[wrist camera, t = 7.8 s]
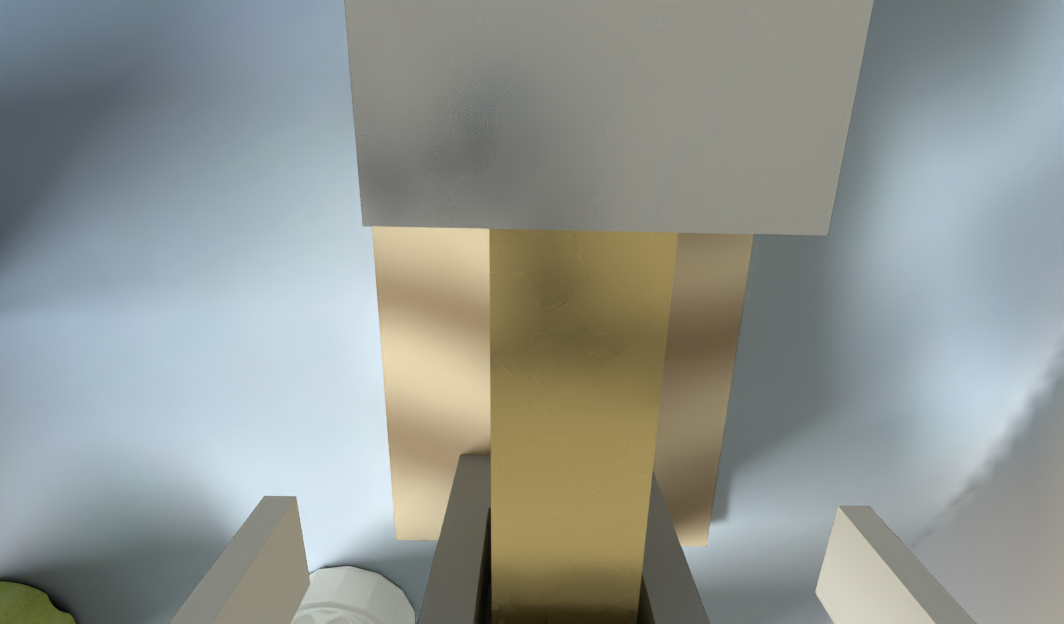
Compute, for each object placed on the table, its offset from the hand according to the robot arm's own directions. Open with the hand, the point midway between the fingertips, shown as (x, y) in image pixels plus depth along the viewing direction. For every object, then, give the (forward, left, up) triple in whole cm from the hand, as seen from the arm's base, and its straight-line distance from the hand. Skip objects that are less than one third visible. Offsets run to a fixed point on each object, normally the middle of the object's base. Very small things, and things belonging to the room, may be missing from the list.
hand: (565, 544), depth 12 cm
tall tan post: (-1, 0, -5) cm, 5 cm away
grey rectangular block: (-10, 0, -8) cm, 13 cm away
